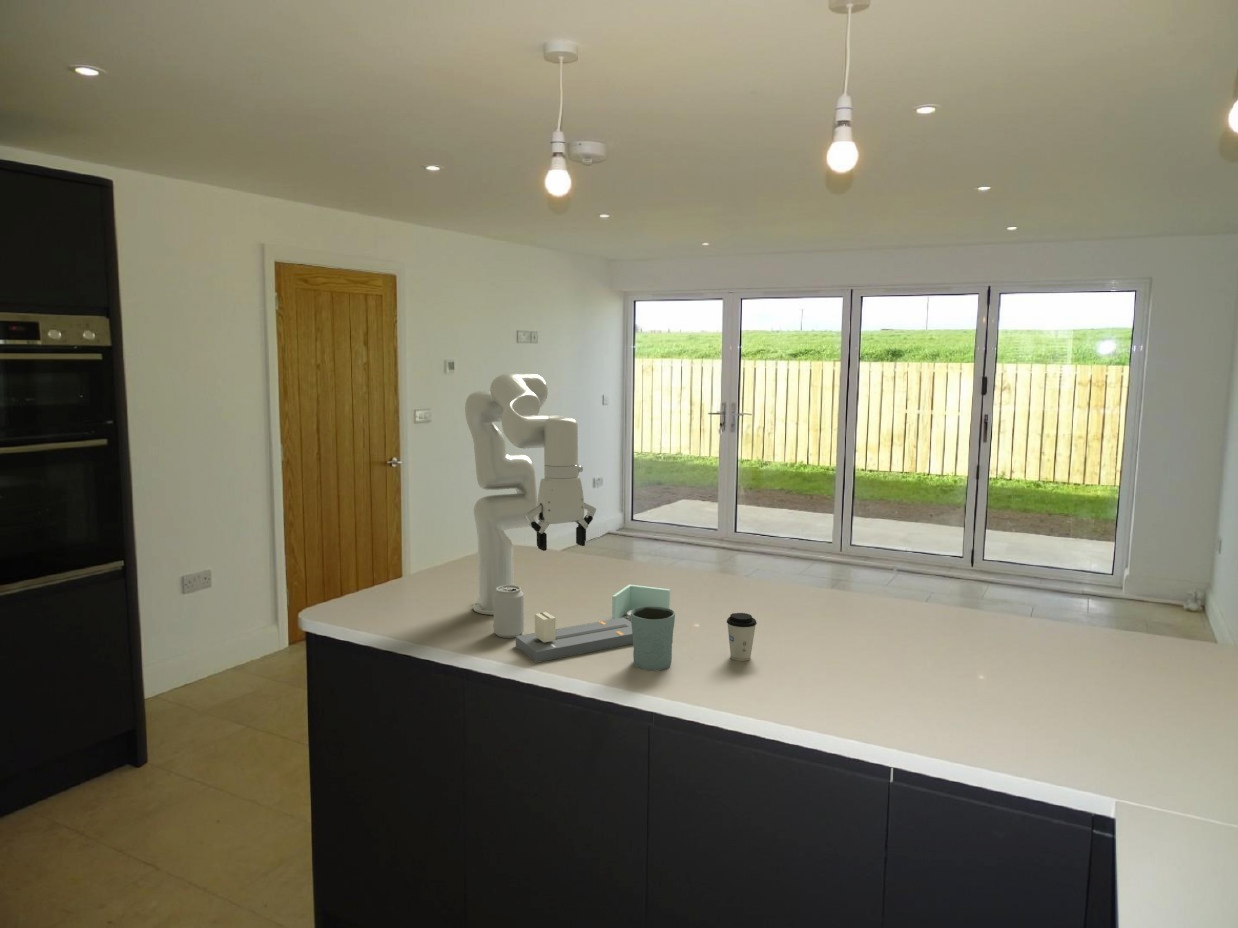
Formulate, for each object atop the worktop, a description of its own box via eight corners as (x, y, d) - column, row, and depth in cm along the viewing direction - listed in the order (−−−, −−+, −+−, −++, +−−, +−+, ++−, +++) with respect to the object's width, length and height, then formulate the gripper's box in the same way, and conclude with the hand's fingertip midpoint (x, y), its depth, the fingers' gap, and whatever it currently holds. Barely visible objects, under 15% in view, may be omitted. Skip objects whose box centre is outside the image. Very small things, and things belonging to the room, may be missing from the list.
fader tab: (534, 636, 196) (534, 613, 195) (546, 634, 198) (546, 611, 197) (543, 642, 192) (543, 619, 191) (555, 640, 193) (555, 617, 193)
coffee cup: (758, 654, 194) (759, 613, 193) (752, 664, 187) (754, 622, 186) (728, 650, 196) (729, 609, 195) (722, 660, 190) (723, 618, 188)
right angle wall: (612, 623, 217) (612, 596, 216) (628, 610, 228) (629, 584, 227) (655, 629, 213) (655, 601, 212) (669, 616, 224) (670, 589, 223)
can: (518, 640, 202) (518, 592, 200) (489, 637, 204) (488, 590, 202) (527, 630, 209) (527, 584, 208) (499, 628, 211) (499, 582, 209)
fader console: (515, 646, 198) (515, 635, 197) (623, 626, 213) (623, 616, 212) (536, 662, 187) (536, 651, 187) (647, 640, 202) (647, 630, 202)
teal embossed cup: (643, 674, 181) (644, 621, 179) (622, 659, 190) (622, 609, 188) (682, 666, 186) (683, 615, 184) (660, 652, 195) (660, 603, 193)
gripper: (587, 468, 192) (587, 540, 194) (518, 473, 184) (519, 548, 186) (602, 472, 186) (602, 546, 188) (532, 477, 177) (533, 554, 179)
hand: (561, 547), depth 187 cm, fingers open, 9 cm apart
